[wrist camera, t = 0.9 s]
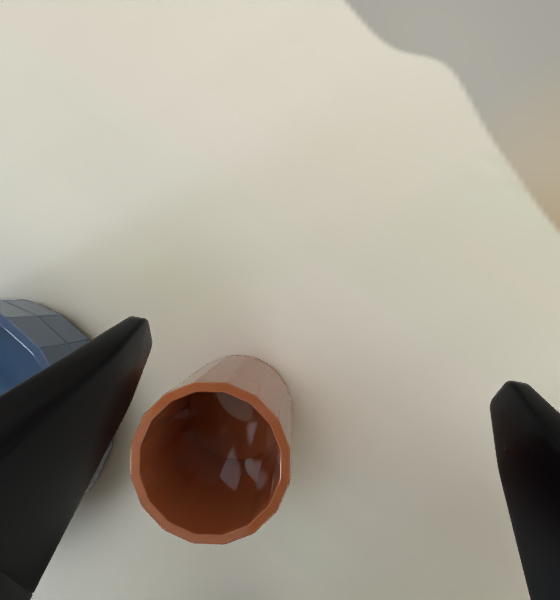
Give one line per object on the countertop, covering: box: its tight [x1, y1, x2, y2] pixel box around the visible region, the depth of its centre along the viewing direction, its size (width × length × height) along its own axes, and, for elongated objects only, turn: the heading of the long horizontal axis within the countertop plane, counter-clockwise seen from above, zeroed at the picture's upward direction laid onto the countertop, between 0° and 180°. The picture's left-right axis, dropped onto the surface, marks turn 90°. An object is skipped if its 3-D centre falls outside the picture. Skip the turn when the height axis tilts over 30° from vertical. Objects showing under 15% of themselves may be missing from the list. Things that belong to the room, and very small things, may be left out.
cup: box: [130, 355, 292, 544], centre depth 18 cm, size 6×6×8 cm
